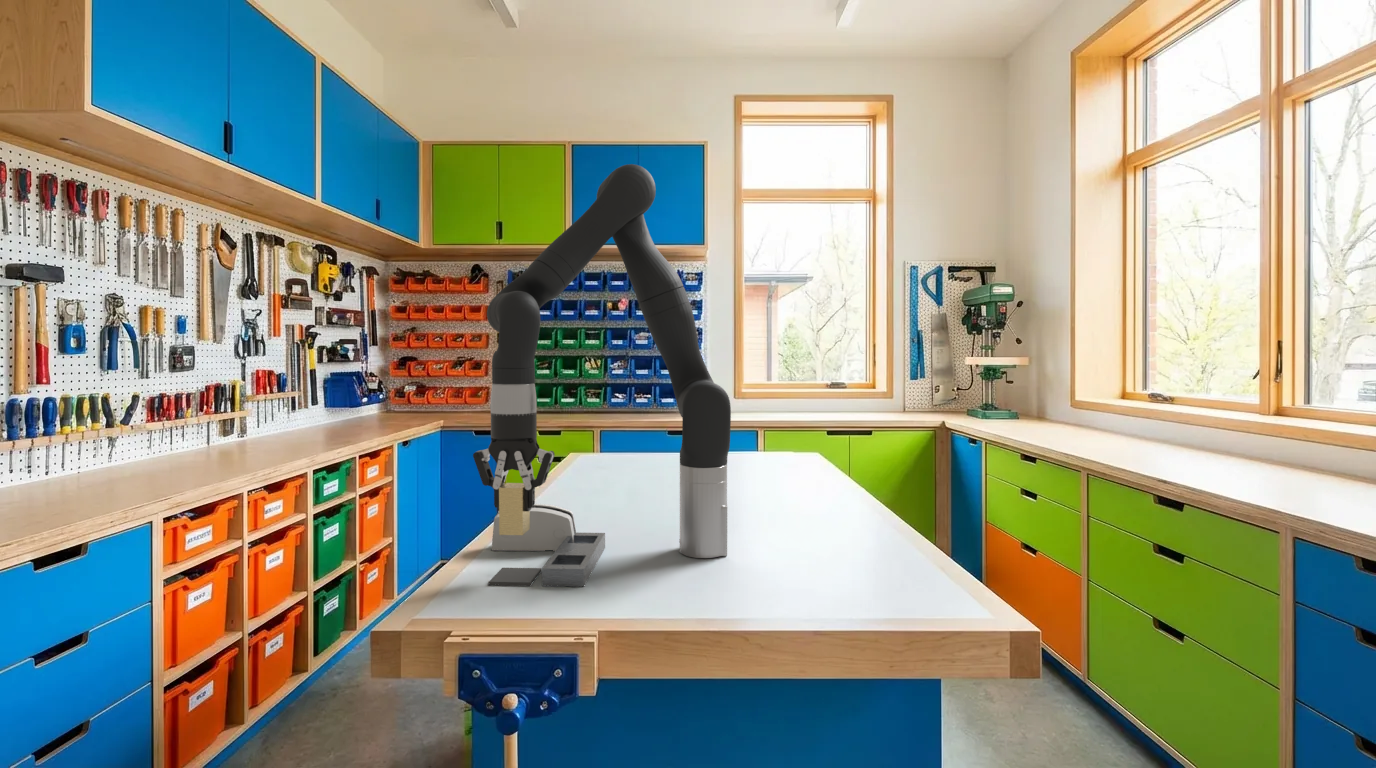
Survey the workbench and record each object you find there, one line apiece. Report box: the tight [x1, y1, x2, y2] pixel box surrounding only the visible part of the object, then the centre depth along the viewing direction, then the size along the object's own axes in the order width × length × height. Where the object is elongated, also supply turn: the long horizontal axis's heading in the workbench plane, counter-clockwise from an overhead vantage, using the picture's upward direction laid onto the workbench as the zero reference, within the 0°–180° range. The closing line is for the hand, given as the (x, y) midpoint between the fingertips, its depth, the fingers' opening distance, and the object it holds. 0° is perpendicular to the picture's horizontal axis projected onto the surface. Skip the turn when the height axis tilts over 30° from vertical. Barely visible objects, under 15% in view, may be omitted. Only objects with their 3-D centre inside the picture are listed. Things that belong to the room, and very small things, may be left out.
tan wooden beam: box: [498, 482, 530, 535], centre depth 109 cm, size 4×4×8 cm
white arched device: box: [491, 503, 577, 552], centre depth 126 cm, size 17×5×10 cm, turn 91°
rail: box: [541, 532, 606, 588], centre depth 116 cm, size 7×21×3 cm, turn 178°
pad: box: [488, 567, 542, 587], centre depth 109 cm, size 7×7×1 cm
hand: (514, 509), depth 109 cm, fingers closed on tan wooden beam, 4 cm apart
